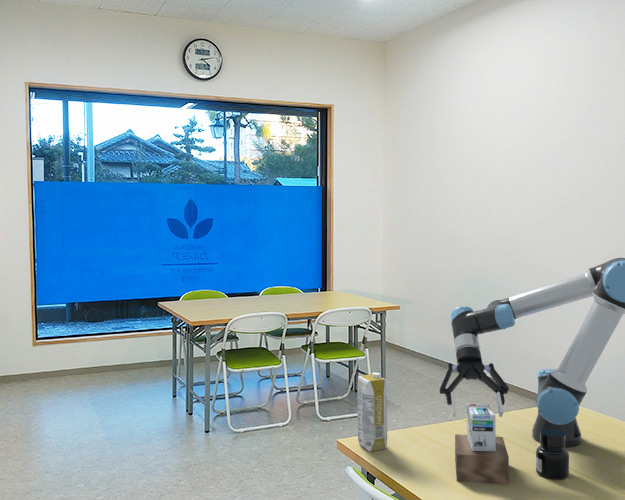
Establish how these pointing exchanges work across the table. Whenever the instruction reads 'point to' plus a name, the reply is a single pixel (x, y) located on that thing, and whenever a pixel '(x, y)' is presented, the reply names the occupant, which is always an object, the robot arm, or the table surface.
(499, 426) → the table surface
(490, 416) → the light bulb box
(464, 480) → the walnut block
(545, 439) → the ink bottle
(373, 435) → the juice carton
